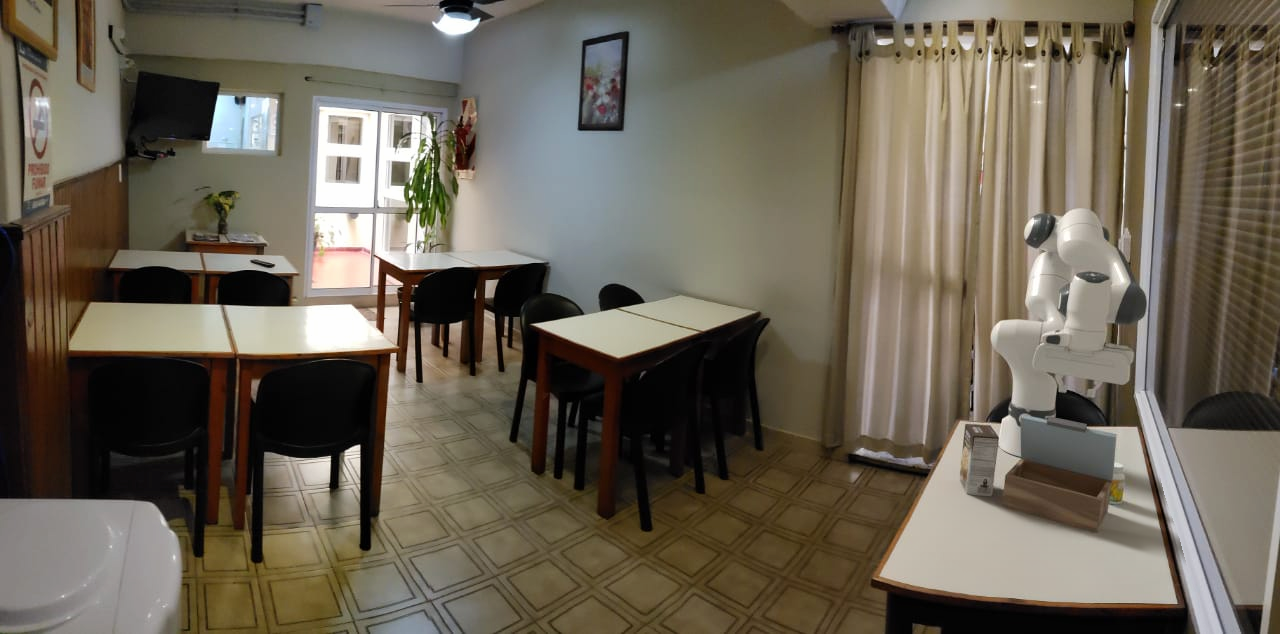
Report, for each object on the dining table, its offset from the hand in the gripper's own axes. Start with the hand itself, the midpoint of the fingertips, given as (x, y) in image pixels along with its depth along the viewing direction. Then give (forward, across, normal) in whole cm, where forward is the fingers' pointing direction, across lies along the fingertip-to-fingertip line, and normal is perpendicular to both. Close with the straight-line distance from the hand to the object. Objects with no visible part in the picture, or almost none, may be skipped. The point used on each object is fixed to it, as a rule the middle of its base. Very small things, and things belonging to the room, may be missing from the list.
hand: (1076, 394), depth 174 cm
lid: (+12, 0, +5) cm, 14 cm away
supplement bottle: (+27, -9, -6) cm, 29 cm away
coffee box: (+27, +18, +10) cm, 34 cm away
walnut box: (+27, 0, +9) cm, 28 cm away
